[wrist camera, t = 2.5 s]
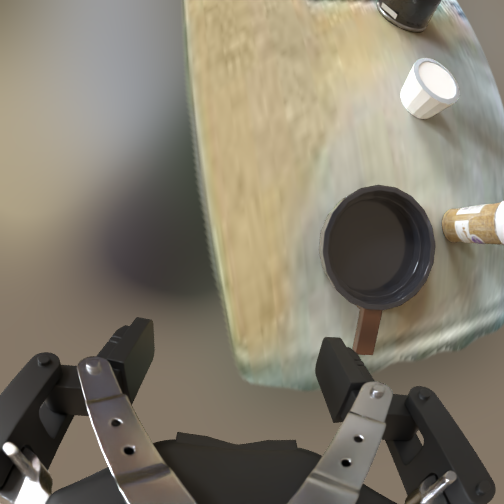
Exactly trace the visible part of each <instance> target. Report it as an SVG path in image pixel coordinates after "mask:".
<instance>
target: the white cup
mask: <svg viewBox="0 0 504 504" xmlns="http://www.w3.org/2000/svg"><path fill="white" fill-rule="evenodd" d="M459 94H460V89H459V86H458V84H457V81H456V79H455V78H454V76H453V75H452V73H451V72H450V71H449V70H448V69H447V68H446V67H445V66H443V65H442V64H440V63H439V62H437V61H435V60H432V59H429V58H421V59H418V60H417V61H416V62H415V63H414V65H413V67H412V69H411V71H410V73H409V75H408V78H407V80H406V82H405V84H404V86H403V88H402V90H401V95H400V97H401V101H402V103H403V105H404V107H405V108H406V110H408V111H409V112H410V113H411V114H412V115H414V116H415V117H417V118H420V119H428V118H430V117H432V116H434V115H435V114H437V113H439V112H440V111H442V110H444V109H446V108H447V107H449V106H451V105H452V104H454V103H456V101H457V100H458V99H459Z"/></svg>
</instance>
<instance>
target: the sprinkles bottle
mask: <svg viewBox="0 0 504 504" xmlns="http://www.w3.org/2000/svg"><path fill="white" fill-rule="evenodd" d="M442 228H443V233H444V235H445V236H446V238H447V239H448V240H449V241H451V242H466V243H478V244H502V245H504V201H503V202H500V203H496V204H484V205H477V206H470V207H463V208H461V209H450V210H448V211H447V212H446V213H445V215H444V217H443V219H442Z"/></svg>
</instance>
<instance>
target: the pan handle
mask: <svg viewBox="0 0 504 504" xmlns="http://www.w3.org/2000/svg"><path fill="white" fill-rule="evenodd" d="M356 306H357V305H356ZM357 307H358V308H359V309H360V312H359V318H358V323H357V329H356V334H355V339H354V344H353V350H354V351H355V352H356V353H357V354H358V355H373V352H374V347H375V343H376V339H377V334H378V330H379V325H380V320H381V314H382V310H370V309H364V308H362V307H360V306H357Z"/></svg>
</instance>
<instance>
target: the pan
mask: <svg viewBox="0 0 504 504" xmlns="http://www.w3.org/2000/svg"><path fill="white" fill-rule="evenodd" d="M434 253H435V240H434V234H433V228H432V225H431V223H430V221H429V219H428V217H427V215H426V213H425V211H424V209H423V208H422V207H421V206H420V205H419V204H418V203H417V201H416V200H415V199H414V198H413V197H411V196H410V195H408V194H407V193H405V192H403V191H401V190H399V189H397V188H395V187H389V186H383V185H375V186H370V187H365V188H361V189H359V190H357V191H355V192H354V193H352V194H350V195H349V196H347V197H345V198H344V199H343V200H341V201H340V202H338V203H337V205H336V206H335V207H334V208H333V209H332V211H331V212H330V213H329V214H328V216H327V218H326V220H325V222H324V225H323V227H322V230H321V233H320V243H319V254H320V258H321V263H322V268H323V270H324V272H325V273H326V275H327V277H328V279H329V280H330V282H331V284H332V285H333V286H334V287H335V289H336V290H337V291H338V292H339V293H340V294H341V295H342V296H344V297H345V298H346V299H347V300H348V301H349V302H350V303H353V304H355V305H357V306H360V307H362V308H364V309H370V310H386V309H390V308H393V307H397V306H400V305H402V304H403V303H405V302H406V301H408V300H409V299H410V298H412V297H413V296H415V295H416V294H417V292H418V291H419V290H420V289H421V287H422V286H423V285H424V283H425V282H426V281H427V278H428V276H429V273H430V271H431V268H432V266H433V262H434Z"/></svg>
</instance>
